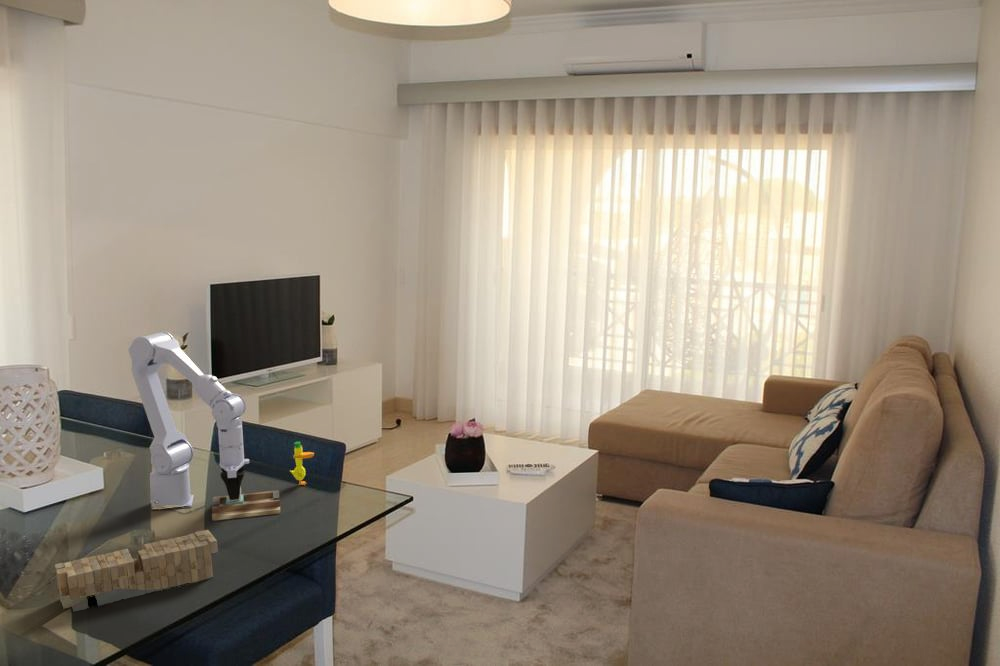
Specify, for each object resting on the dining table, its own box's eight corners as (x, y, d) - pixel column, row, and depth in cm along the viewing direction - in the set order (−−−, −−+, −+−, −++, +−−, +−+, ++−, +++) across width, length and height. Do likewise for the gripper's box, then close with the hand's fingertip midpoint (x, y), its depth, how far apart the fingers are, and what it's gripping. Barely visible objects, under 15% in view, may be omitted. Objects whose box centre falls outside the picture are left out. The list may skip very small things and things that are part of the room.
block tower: (64, 620, 159) (221, 576, 174) (58, 579, 157) (217, 538, 173) (59, 603, 165) (211, 563, 181) (54, 563, 164) (207, 526, 179)
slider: (226, 509, 208) (225, 489, 207) (227, 502, 213) (225, 482, 212) (243, 508, 209) (242, 487, 208) (243, 501, 214) (242, 481, 213)
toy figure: (314, 481, 232) (312, 439, 230) (316, 485, 228) (314, 442, 227) (289, 483, 230) (287, 441, 228) (290, 488, 226) (288, 445, 224)
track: (212, 520, 204) (211, 509, 204) (214, 503, 215) (213, 493, 215) (280, 513, 208) (279, 502, 208) (279, 496, 220) (278, 486, 219)
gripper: (247, 451, 203) (251, 504, 205) (248, 435, 216) (251, 485, 219) (217, 453, 201) (220, 508, 203) (219, 437, 214) (222, 488, 217)
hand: (234, 496), depth 211 cm, fingers closed on slider, 3 cm apart
